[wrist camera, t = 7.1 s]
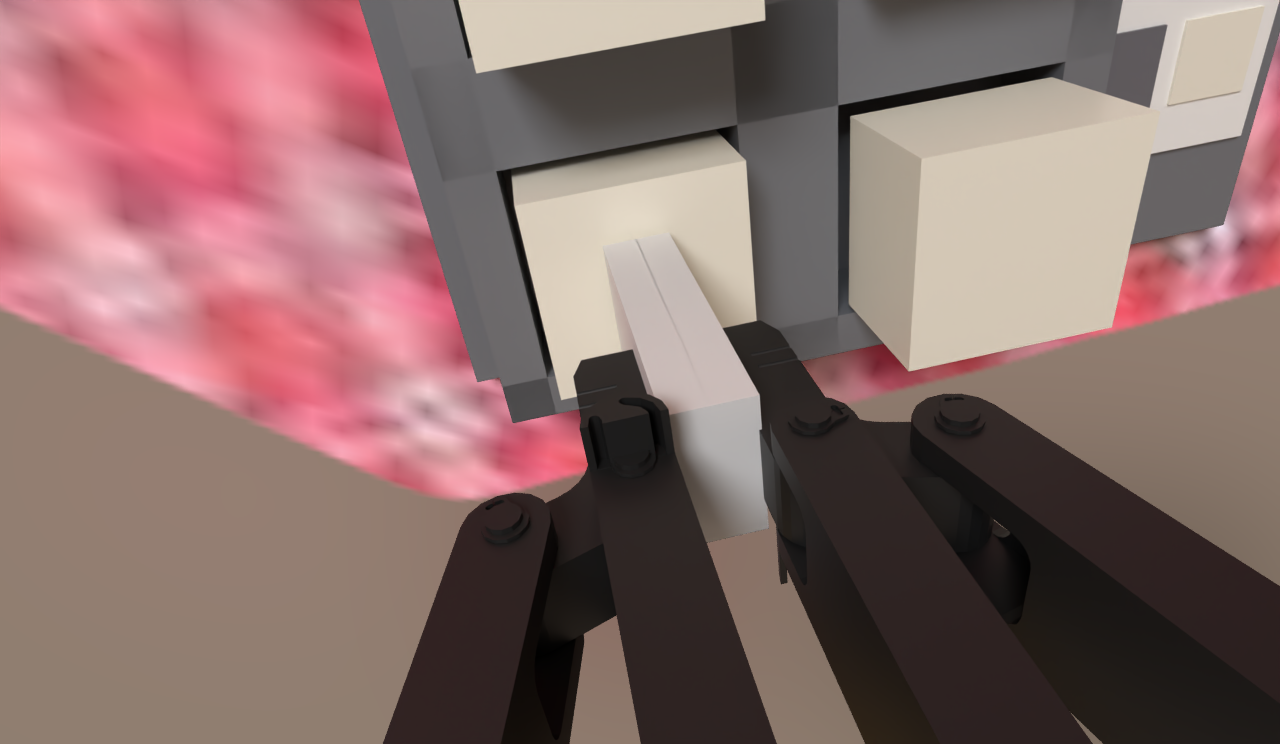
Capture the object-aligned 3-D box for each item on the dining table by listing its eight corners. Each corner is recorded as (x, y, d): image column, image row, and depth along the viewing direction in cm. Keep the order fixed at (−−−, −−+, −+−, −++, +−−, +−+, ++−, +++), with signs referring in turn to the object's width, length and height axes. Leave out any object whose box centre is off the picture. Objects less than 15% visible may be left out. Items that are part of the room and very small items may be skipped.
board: (1387, -483, 17) (1582, -565, 14) (1199, 214, 25) (1292, 255, 22) (269, -318, 15) (215, -371, 12) (477, 364, 24) (476, 431, 21)
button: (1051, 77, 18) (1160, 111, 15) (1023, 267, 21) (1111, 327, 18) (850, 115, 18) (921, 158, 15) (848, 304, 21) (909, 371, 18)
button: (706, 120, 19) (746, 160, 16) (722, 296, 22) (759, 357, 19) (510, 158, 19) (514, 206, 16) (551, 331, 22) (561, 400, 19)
